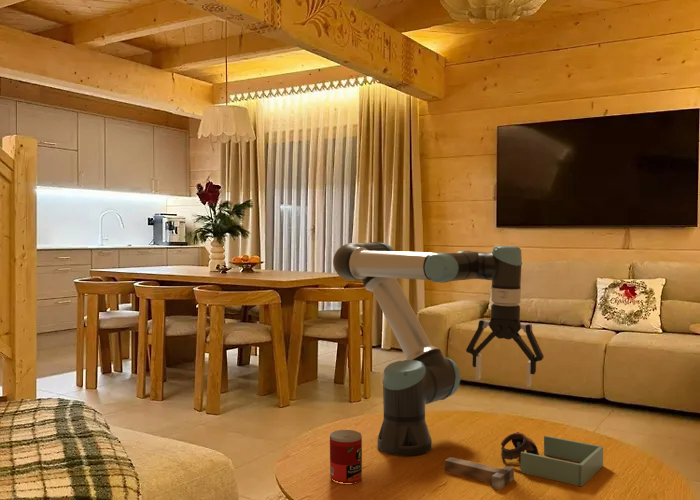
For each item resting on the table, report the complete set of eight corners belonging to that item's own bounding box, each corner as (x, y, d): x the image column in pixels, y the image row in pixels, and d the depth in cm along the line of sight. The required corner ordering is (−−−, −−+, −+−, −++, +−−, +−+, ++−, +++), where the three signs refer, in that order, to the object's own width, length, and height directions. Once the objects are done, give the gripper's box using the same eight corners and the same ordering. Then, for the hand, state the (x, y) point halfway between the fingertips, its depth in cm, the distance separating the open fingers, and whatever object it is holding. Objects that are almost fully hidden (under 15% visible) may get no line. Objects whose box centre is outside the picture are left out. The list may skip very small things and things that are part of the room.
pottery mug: (546, 469, 166) (533, 444, 164) (512, 483, 167) (499, 458, 166) (536, 442, 177) (524, 418, 175) (504, 455, 179) (492, 432, 177)
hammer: (439, 475, 161) (439, 463, 161) (455, 465, 168) (455, 454, 168) (499, 490, 152) (499, 477, 152) (513, 479, 158) (513, 467, 158)
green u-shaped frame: (520, 472, 162) (520, 452, 162) (545, 453, 175) (545, 435, 175) (582, 486, 153) (582, 465, 153) (603, 465, 166) (603, 446, 166)
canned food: (351, 487, 154) (351, 441, 153) (323, 480, 158) (323, 436, 157) (368, 476, 160) (367, 432, 160) (340, 470, 164) (340, 427, 164)
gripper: (456, 301, 175) (454, 379, 176) (551, 309, 164) (548, 392, 165) (464, 298, 182) (462, 373, 183) (556, 305, 171) (553, 385, 172)
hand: (503, 382), depth 174 cm, fingers open, 13 cm apart
